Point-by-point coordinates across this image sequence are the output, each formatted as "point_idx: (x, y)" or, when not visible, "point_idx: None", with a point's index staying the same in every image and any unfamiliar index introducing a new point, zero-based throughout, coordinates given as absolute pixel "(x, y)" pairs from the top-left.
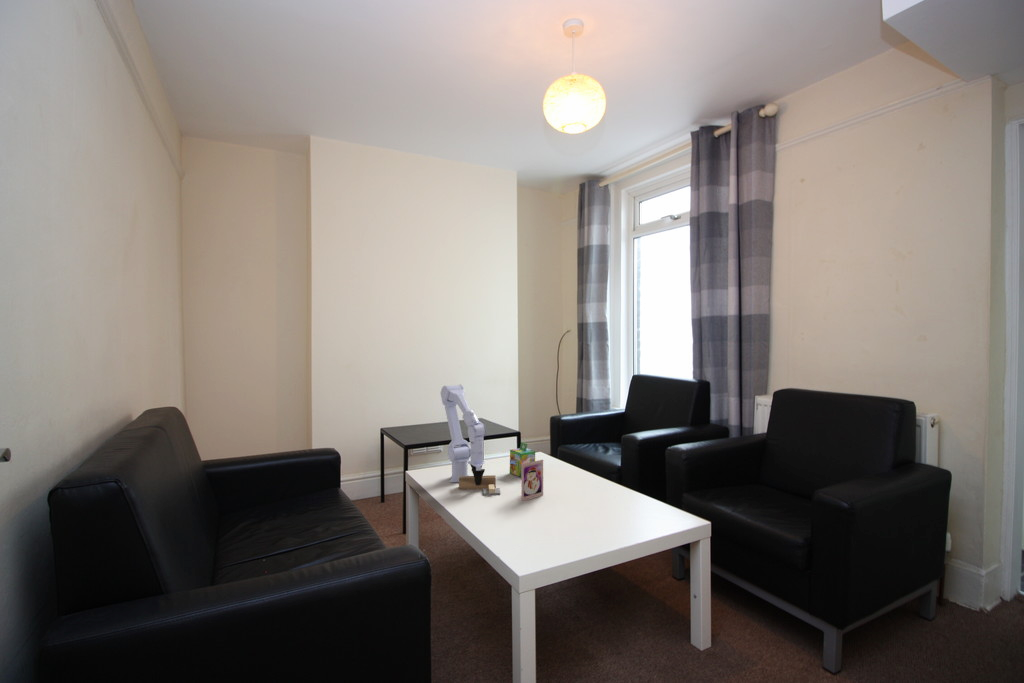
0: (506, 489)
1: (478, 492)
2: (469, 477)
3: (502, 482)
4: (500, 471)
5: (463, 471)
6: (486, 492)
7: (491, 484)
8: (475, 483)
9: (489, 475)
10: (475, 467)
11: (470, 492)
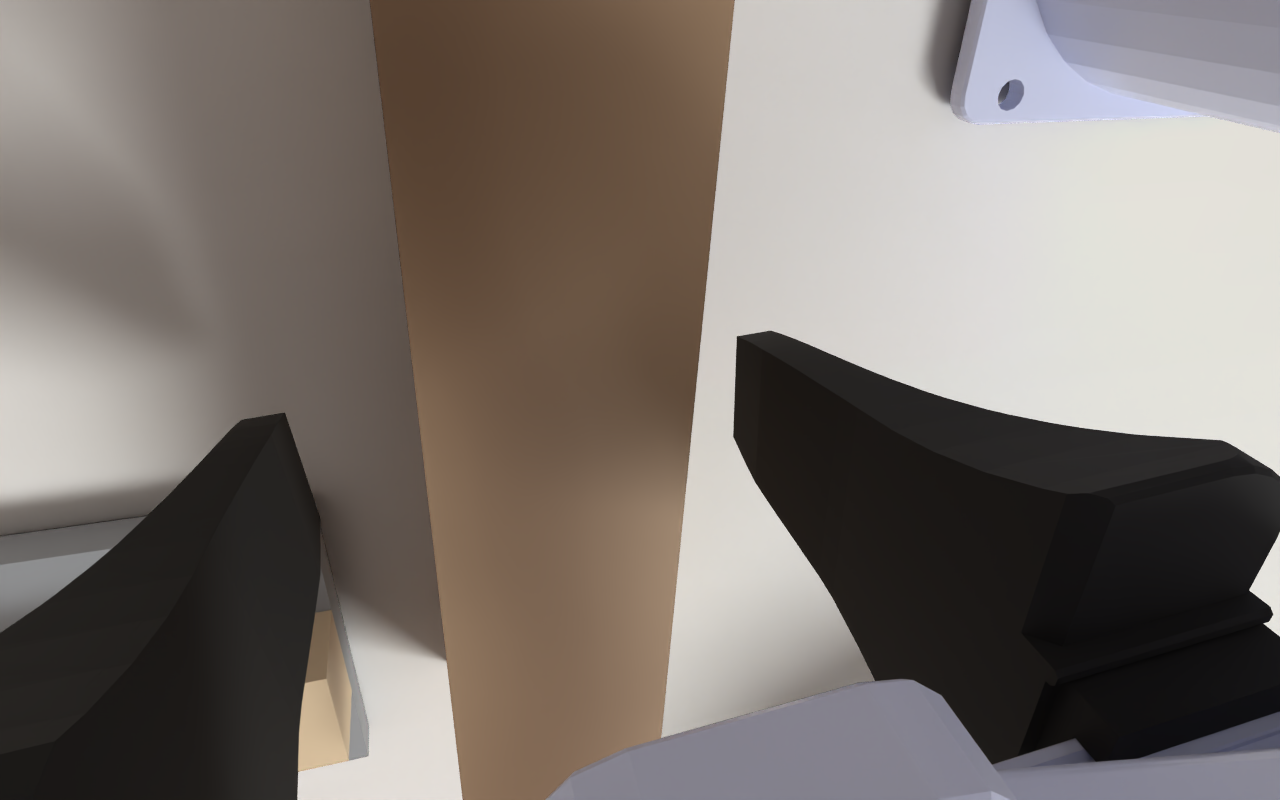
0: (401, 796)
1: (150, 411)
2: (525, 280)
3: (753, 690)
4: None
5: (1268, 9)
6: (12, 618)
7: (337, 722)
8: (220, 444)
9: (658, 737)
10: (942, 594)
11: (109, 213)
